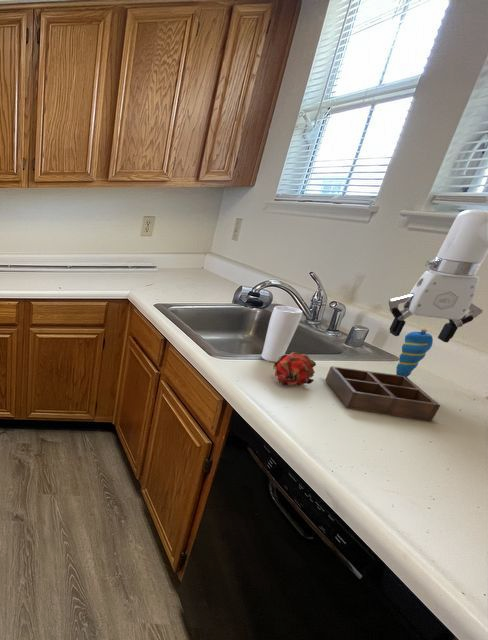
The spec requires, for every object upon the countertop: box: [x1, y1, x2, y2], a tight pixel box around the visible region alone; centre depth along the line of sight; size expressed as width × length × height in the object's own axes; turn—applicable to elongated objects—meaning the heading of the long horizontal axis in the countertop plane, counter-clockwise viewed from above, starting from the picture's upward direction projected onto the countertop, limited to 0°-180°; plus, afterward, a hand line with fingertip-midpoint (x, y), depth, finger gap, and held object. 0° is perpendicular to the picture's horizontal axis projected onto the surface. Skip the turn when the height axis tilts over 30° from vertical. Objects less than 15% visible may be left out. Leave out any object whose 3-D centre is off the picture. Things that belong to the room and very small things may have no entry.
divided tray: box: [324, 365, 441, 422], centre depth 99 cm, size 15×15×4 cm
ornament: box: [395, 326, 434, 378], centre depth 105 cm, size 5×5×15 cm
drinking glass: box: [260, 305, 303, 363], centre depth 117 cm, size 7×7×15 cm
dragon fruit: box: [272, 351, 317, 387], centre depth 105 cm, size 8×8×12 cm
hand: (417, 337), depth 103 cm, fingers open, 9 cm apart
